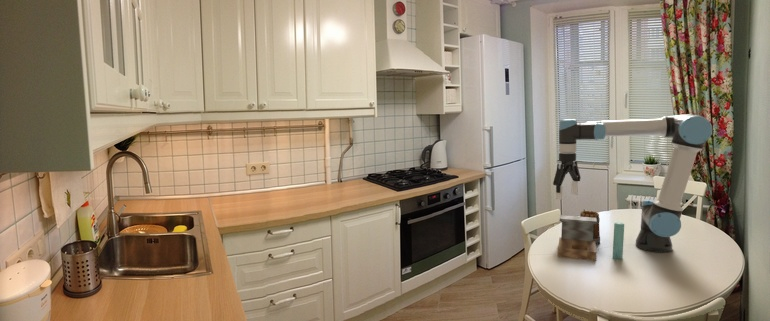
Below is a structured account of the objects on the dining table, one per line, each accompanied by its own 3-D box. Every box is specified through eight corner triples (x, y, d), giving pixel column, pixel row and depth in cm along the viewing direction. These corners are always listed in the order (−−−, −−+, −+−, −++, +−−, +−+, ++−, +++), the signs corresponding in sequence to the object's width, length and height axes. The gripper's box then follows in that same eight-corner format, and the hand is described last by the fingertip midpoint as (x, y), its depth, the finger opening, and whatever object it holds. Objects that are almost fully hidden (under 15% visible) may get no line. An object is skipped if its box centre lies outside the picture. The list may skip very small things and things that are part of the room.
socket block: (594, 248, 216) (596, 217, 213) (596, 260, 200) (597, 227, 198) (559, 244, 222) (560, 215, 220) (557, 256, 206) (558, 224, 204)
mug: (602, 245, 219) (604, 216, 217) (579, 245, 221) (580, 215, 219) (594, 235, 234) (595, 207, 232) (573, 235, 236) (574, 207, 234)
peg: (622, 256, 204) (623, 222, 202) (622, 259, 200) (624, 225, 198) (612, 255, 206) (613, 222, 203) (612, 258, 202) (614, 224, 200)
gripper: (573, 149, 220) (573, 191, 223) (545, 154, 205) (545, 200, 208) (588, 150, 215) (587, 193, 218) (560, 156, 199) (560, 202, 202)
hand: (566, 196), depth 213 cm, fingers open, 13 cm apart
